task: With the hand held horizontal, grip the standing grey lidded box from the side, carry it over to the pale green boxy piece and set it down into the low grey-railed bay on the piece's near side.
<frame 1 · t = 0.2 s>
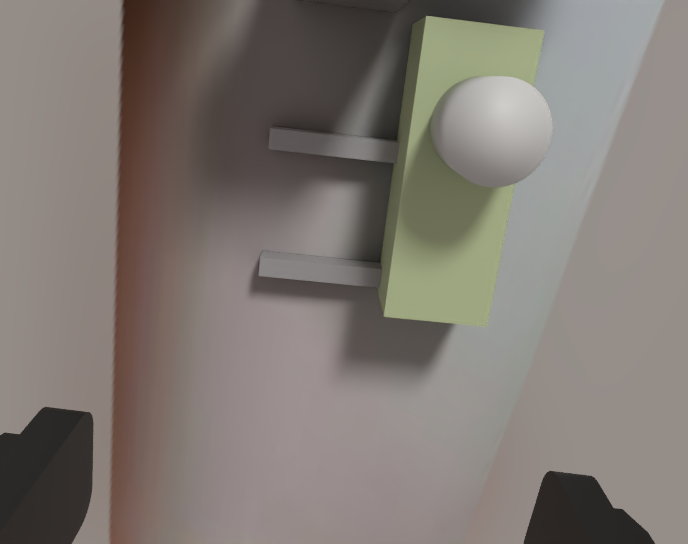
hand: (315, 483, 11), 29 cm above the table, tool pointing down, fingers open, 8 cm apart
pale green boxy piece: (442, 169, 38), on the table
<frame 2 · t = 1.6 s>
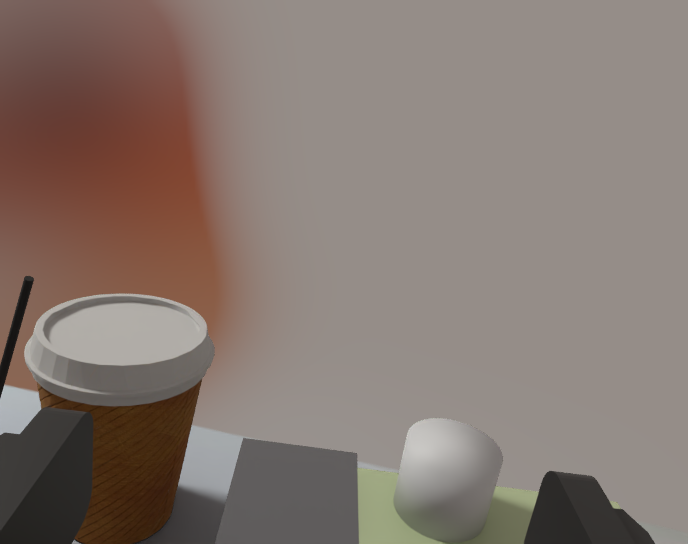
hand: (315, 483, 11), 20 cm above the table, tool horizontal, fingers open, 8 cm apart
disposable coffee cup: (118, 510, 37), on the table
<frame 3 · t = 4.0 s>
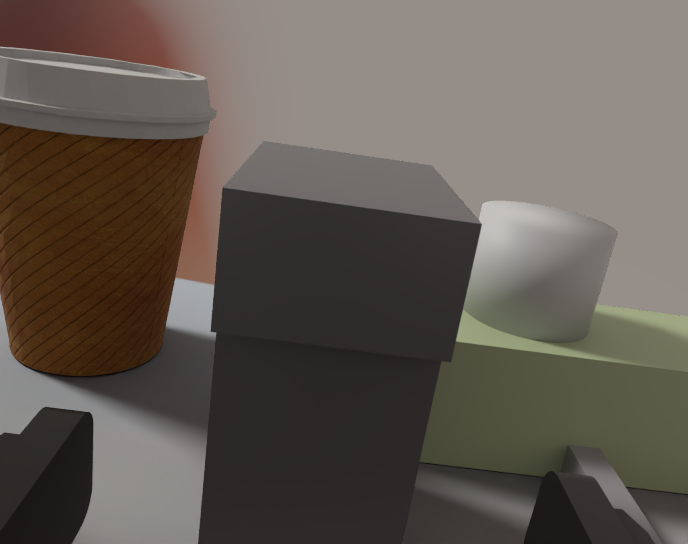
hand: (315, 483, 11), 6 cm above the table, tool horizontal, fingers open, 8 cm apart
pale green boxy piece: (567, 436, 26), on the table
disposable coffee cup: (89, 346, 28), on the table
grey lidded box: (297, 527, 19), on the table
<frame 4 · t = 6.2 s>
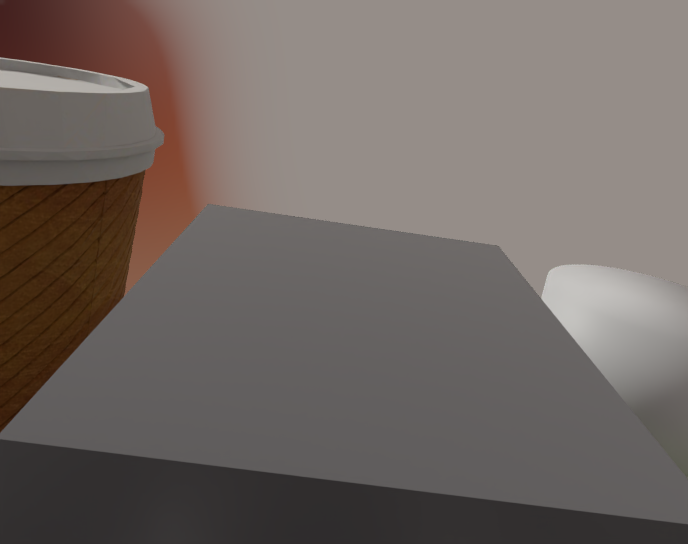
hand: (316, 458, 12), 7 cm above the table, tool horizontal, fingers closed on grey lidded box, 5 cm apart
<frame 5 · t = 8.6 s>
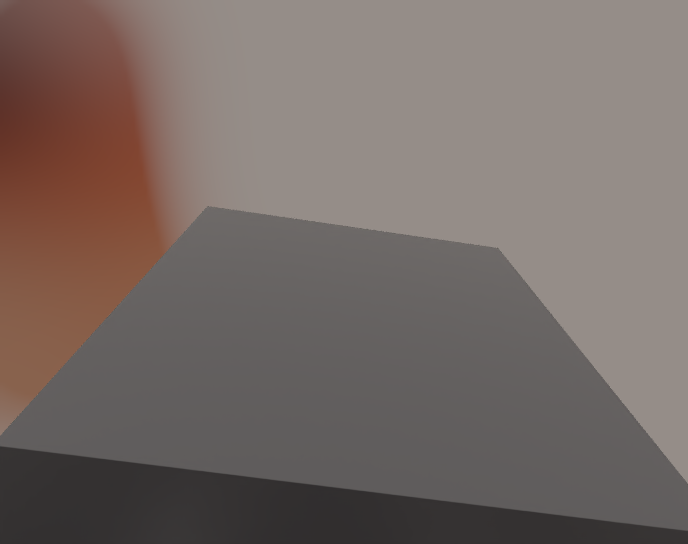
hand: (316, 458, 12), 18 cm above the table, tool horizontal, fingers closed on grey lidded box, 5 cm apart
when the fingers open (8 cm above the table, at t = 11.4 s): grey lidded box drops 1 cm, on the table.
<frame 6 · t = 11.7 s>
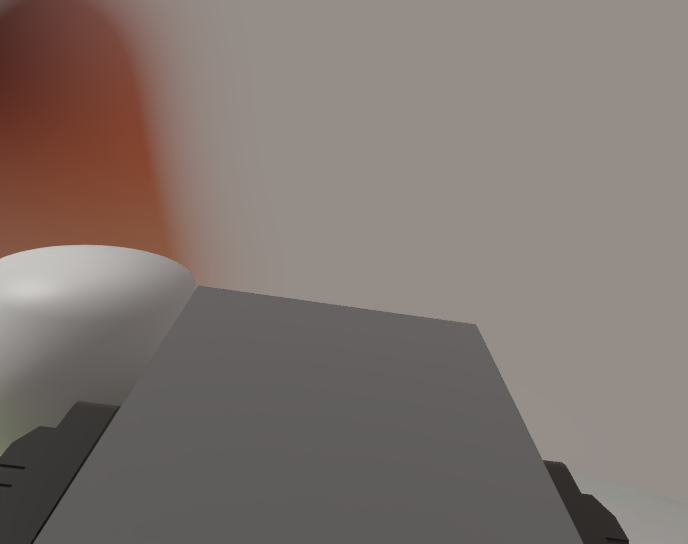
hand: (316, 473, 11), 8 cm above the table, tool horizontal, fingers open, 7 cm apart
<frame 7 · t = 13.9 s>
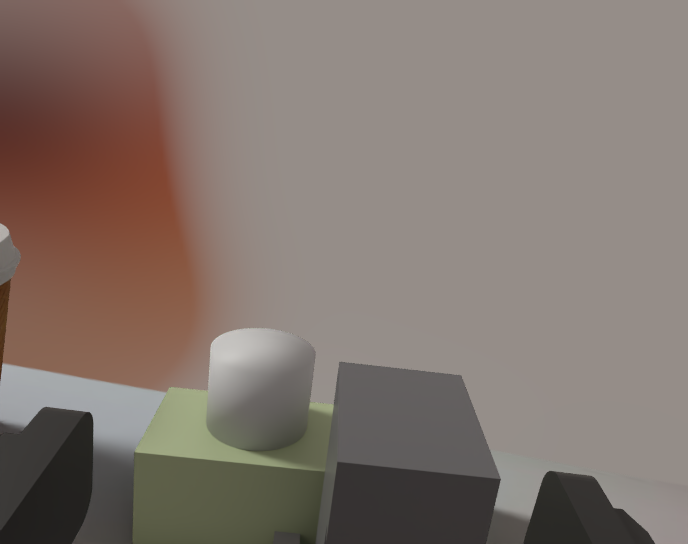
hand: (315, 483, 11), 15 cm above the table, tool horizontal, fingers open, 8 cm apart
pale green boxy piece: (305, 517, 32), on the table
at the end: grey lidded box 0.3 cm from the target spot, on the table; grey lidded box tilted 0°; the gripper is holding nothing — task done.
